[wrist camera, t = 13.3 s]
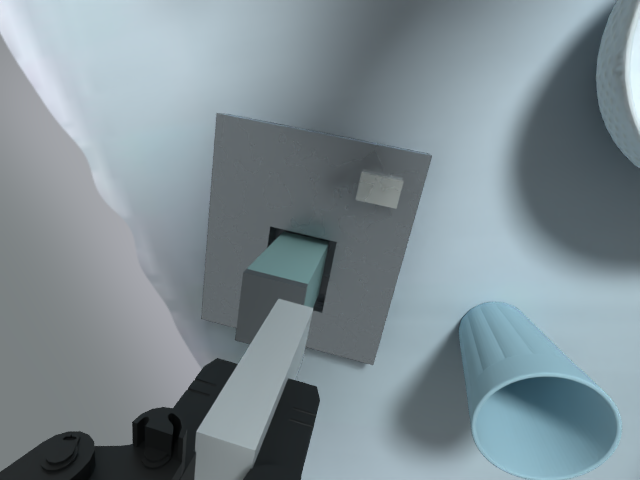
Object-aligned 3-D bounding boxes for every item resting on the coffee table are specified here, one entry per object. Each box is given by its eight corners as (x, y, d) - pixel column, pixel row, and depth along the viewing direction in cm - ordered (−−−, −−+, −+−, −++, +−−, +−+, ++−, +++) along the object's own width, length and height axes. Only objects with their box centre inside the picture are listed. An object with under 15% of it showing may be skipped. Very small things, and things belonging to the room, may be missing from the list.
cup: (460, 378, 32) (493, 490, 22) (432, 305, 30) (454, 391, 20) (552, 357, 29) (635, 471, 20) (527, 277, 28) (603, 358, 18)
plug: (283, 231, 30) (243, 272, 22) (329, 241, 30) (305, 288, 21) (275, 283, 32) (235, 340, 23) (318, 294, 31) (293, 356, 23)
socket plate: (228, 114, 28) (211, 112, 25) (428, 153, 26) (433, 156, 24) (211, 308, 34) (196, 323, 32) (373, 351, 32) (372, 371, 30)
